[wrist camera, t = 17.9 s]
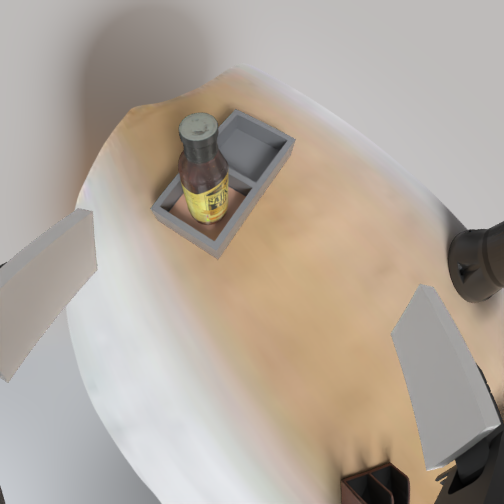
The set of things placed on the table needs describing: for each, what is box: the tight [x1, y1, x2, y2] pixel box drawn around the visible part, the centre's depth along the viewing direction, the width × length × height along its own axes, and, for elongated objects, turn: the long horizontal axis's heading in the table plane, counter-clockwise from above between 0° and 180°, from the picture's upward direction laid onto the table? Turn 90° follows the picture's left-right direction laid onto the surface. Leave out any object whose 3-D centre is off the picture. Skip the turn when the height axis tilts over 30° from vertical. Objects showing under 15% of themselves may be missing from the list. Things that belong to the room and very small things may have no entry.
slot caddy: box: [150, 109, 296, 259], centre depth 46 cm, size 12×23×5 cm, turn 148°
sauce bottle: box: [178, 113, 229, 225], centre depth 36 cm, size 7×6×20 cm
